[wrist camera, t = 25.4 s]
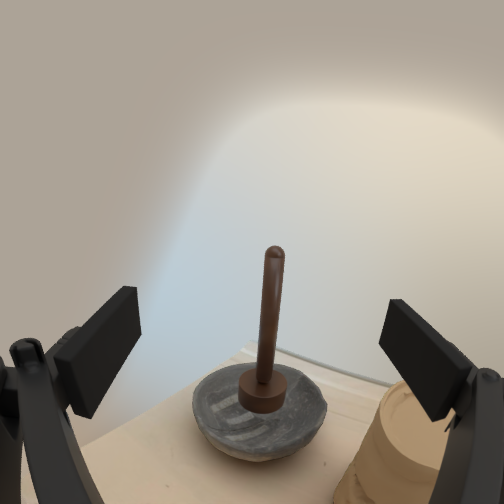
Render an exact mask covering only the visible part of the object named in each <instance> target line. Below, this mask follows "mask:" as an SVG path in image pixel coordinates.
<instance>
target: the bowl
mask: <svg viewBox="0 0 504 504" xmlns="http://www.w3.org/2000/svg"><path fill="white" fill-rule="evenodd" d="M256 364H257V362H253V363H244V364H237V365H232V366H228V367H225V368H222V369H220V370H218V371H215V372H214V373H212V374H210V375H208V376H207V377H206V378H204V379H203V380H202V381H201V382H200V383H199V385H198V386H197V387H196V388H195V391H194V393H193V402H192V405H193V412H194V416H195V418H196V421H197V423H198V426H199V429H200V430H201V432H202V433H203V434H204V435H205V437H206V438H207V440H208V441H209V442H210V443H211V444H212V445H213V446H214V447H215V448H217V449H218V450H220V451H222V452H224V453H226V454H228V455H230V456H233V457H236V458H240V459H244V460H247V461H254V462H261V461H266V460H272V459H277V458H282V457H285V456H288V455H291V454H293V453H295V452H296V451H298V450H299V449H301V448H303V447H304V446H306V445H307V444H308V443H309V442H310V441H311V439H312V438H313V437H314V436H315V434H316V433H317V431H318V430H319V428H320V427H321V425H322V424H323V421H324V418H325V415H326V412H327V403H326V401H325V400H324V399H323V396H322V394H321V391H320V389H319V387H318V386H316V385H315V383H314V382H312V381H311V380H310V379H309V378H308V377H307V376H306V375H305V374H303V373H302V372H301V371H299V370H296V369H294V368H291V367H288V366H285V365H280V364H274V365H273V370H276V371H278V372H280V373H281V374H282V375H284V377H285V378H286V380H287V390H286V396H285V401H284V404H283V406H282V407H281V408H280V409H279V410H277V411H275V412H273V413H269V414H257V413H253V412H250V411H248V410H246V409H244V408H243V407H242V406H241V405H240V403H239V401H238V384H239V378H240V376H241V375H242V374H243V373H244V372H245V371H247V370H250V369H253V368H256Z"/></svg>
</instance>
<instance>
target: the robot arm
mask: <svg viewBox="0 0 504 504" xmlns="http://www.w3.org/2000/svg"><path fill="white" fill-rule="evenodd" d="M140 336H141V326H140V317H139V307H138V298H137V287H130V286H123V287H122V288H121V289H120V290H118V292H116V293H115V294H114V295H113V296H112V297H111V298H110V299H109V300H108V301H107V302H106V303H105V304H104V305H103V306H102V307H101V308H100V309H99V310H98V311H97V312H96V313H95V314H94V315H93V316H92V317H91V318H90V319H89V320H88V321H87V322H86V323H85V324H84V325H83V326H82V327H78V326H77V327H75V328H73V329H71V330H69V331H68V332H66V333H65V334H64V335H63V336H62V339H61V338H60V339H59V340H58V341H57V344H56V343H55V344H54V345H53V346H52V347H51V348H50V349H49V350H48V351H47V352H46V353H45V354H44V352H43V349H42V345H41V343H40V341H38V340H37V339H34V338H24V339H21V340H18V341H16V342H15V343H13V344H12V345H11V347H10V350H9V351H10V354H11V357H12V359H13V362H14V365H15V367H6V366H5V365H4V362H3V360H2V358H1V357H0V504H21V458H22V457H21V456H22V445H23V442H24V447H25V452H26V457H27V462H28V465H29V471H30V475H31V479H32V482H33V486H34V489H35V493H36V496H37V499H38V502H39V504H104V502H103V500H102V498H101V496H100V494H99V492H98V490H97V488H96V486H95V484H94V481H93V479H92V477H91V475H90V473H89V470H88V468H87V466H86V463H85V461H84V459H83V456H82V454H81V451H80V448H79V446H78V443H77V440H76V438H75V435H74V432H73V429H72V426H71V423H70V420H69V417H68V414H67V412H66V409H67V407H68V406H69V404H70V405H71V407H72V410H73V412H74V414H76V415H79V416H82V417H85V418H88V419H92V417H93V415H94V413H95V411H96V409H97V408H98V406H99V404H100V403H101V401H102V399H103V397H104V396H105V394H106V392H107V390H108V389H109V387H110V385H111V384H112V382H113V380H114V378H115V377H116V375H117V374H118V372H119V370H120V369H121V367H122V365H123V364H124V362H125V360H126V359H127V357H128V355H129V354H130V352H131V350H132V349H133V347H134V346H135V344H136V342H137V341H138V339H139V338H140ZM379 345H380V346H381V348H382V349H383V350H384V352H385V353H386V355H387V356H388V357H389V359H390V360H391V362H392V363H393V365H394V366H395V368H396V369H397V370H398V372H399V373H400V375H401V376H402V378H403V379H404V381H405V382H406V384H407V385H408V387H409V388H410V389H411V391H412V392H413V394H414V395H415V397H416V398H417V400H418V401H419V403H420V404H421V406H422V408H423V409H424V411H425V412H426V414H427V415H428V417H429V418H430V420H431V421H432V422H436V421H439V420H442V419H445V418H446V417H447V415H448V413H449V412H450V410H451V408H452V409H453V410H454V411H455V414H454V416H453V418H452V419H451V421H450V422H449V424H448V426H447V427H446V429H445V431H444V432H447V430H448V429H449V428H450V430H449V435H448V439H447V444H446V448H445V452H444V456H443V459H442V463H441V467H440V470H439V473H438V477H437V480H436V483H435V486H434V489H433V492H432V494H431V497H430V500H429V503H428V504H504V378H501V377H500V375H499V374H498V373H497V372H495V371H494V370H492V369H489V368H481V369H478V368H477V367H476V366H475V365H474V364H473V363H472V362H471V361H470V360H469V359H468V358H467V357H466V356H465V355H464V354H463V353H462V352H461V351H459V349H458V348H457V347H456V346H455V345H454V344H452V343H451V342H449V341H447V340H446V339H445V338H443V337H442V336H441V335H440V334H439V333H438V332H437V331H436V330H435V329H434V328H433V327H432V326H431V325H430V324H429V323H427V322H426V321H425V320H424V319H423V318H422V317H421V316H420V315H418V313H416V312H415V311H414V310H413V309H412V308H411V307H410V306H409V305H408V304H406V303H405V302H404V301H403V300H402V299H390V302H389V306H388V310H387V314H386V318H385V322H384V326H383V329H382V333H381V336H380V340H379Z"/></svg>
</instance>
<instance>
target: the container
mask: <svg viewBox="0 0 504 504" xmlns="http://www.w3.org/2000/svg"><path fill="white" fill-rule="evenodd" d="M454 414H455V411H454V410H453V409H452V408H451V410H450V412H449V413H448V415H447V417H446V418H445V419H442V420H439V421H436V422H432V421H431V420H430V418H429V417H428V415H427V414H426V412H425V411H424V409H423V408H422V406H421V404H420V403H419V401H418V400H417V398H416V397H415V395H414V394H413V392H412V391H411V389H410V388H409V387H408V385H407V384H406V382H405V381H404V380H403V381H400V382H397V383H396V384H394V385H393V386H392V387H391V388H390V389H389V390H388V391H387V392H386V393H385V395H384V396H383V398H382V400H381V402H380V404H379V407H378V409H377V412H376V414H375V418H374V420H373V422H372V424H371V425H370V427H369V429H368V431H367V433H366V435H365V437H364V439H363V441H362V444H361V446H360V449H359V451H358V452H357V454H356V456H355V458H354V460H353V461H352V463H351V464H350V465H349V467H348V469H347V471H346V472H345V474H344V476H343V477H342V479H341V481H340V482H339V484H338V486H337V488H336V490H335V493H334V497H333V498H334V503H335V504H428V503H429V500H430V497H431V494H432V492H433V489H434V486H435V483H436V480H437V477H438V473H439V470H440V467H441V463H442V459H443V456H444V452H445V448H446V444H447V439H448V435H449V430H450V428H449V429H448V430H447V432H444V431H445V429H446V427H447V426H448V424H449V422H450V421H451V419H452V418H453V416H454Z"/></svg>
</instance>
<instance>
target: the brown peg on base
mask: <svg viewBox="0 0 504 504" xmlns="http://www.w3.org/2000/svg"><path fill="white" fill-rule="evenodd" d="M284 261H285V253H284V251H283V249H282V248H281V247H279V246H271V247H269V248H268V249H267V250H266V253H265V261H264V275H263V289H262V302H261V315H260V329H259V339H258V352H257V364H256V368H253V369H250V370H247V371H245V372H244V373H243V374H242V375H241V376H240V378H239V384H238V401H239V403H240V405H241V406H242V407H243V408H244V409H246V410H248V411H250V412H253V413H257V414H269V413H273V412H275V411H277V410H279V409H280V408H281V407H282V406H283V404H284V401H285V396H286V390H287V380H286V378H285V377H284V375H282V374H281V373H280V372H278V371H276V370H273V365H274V356H275V348H276V339H277V331H278V320H279V312H280V302H281V293H282V283H283V272H284Z"/></svg>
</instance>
